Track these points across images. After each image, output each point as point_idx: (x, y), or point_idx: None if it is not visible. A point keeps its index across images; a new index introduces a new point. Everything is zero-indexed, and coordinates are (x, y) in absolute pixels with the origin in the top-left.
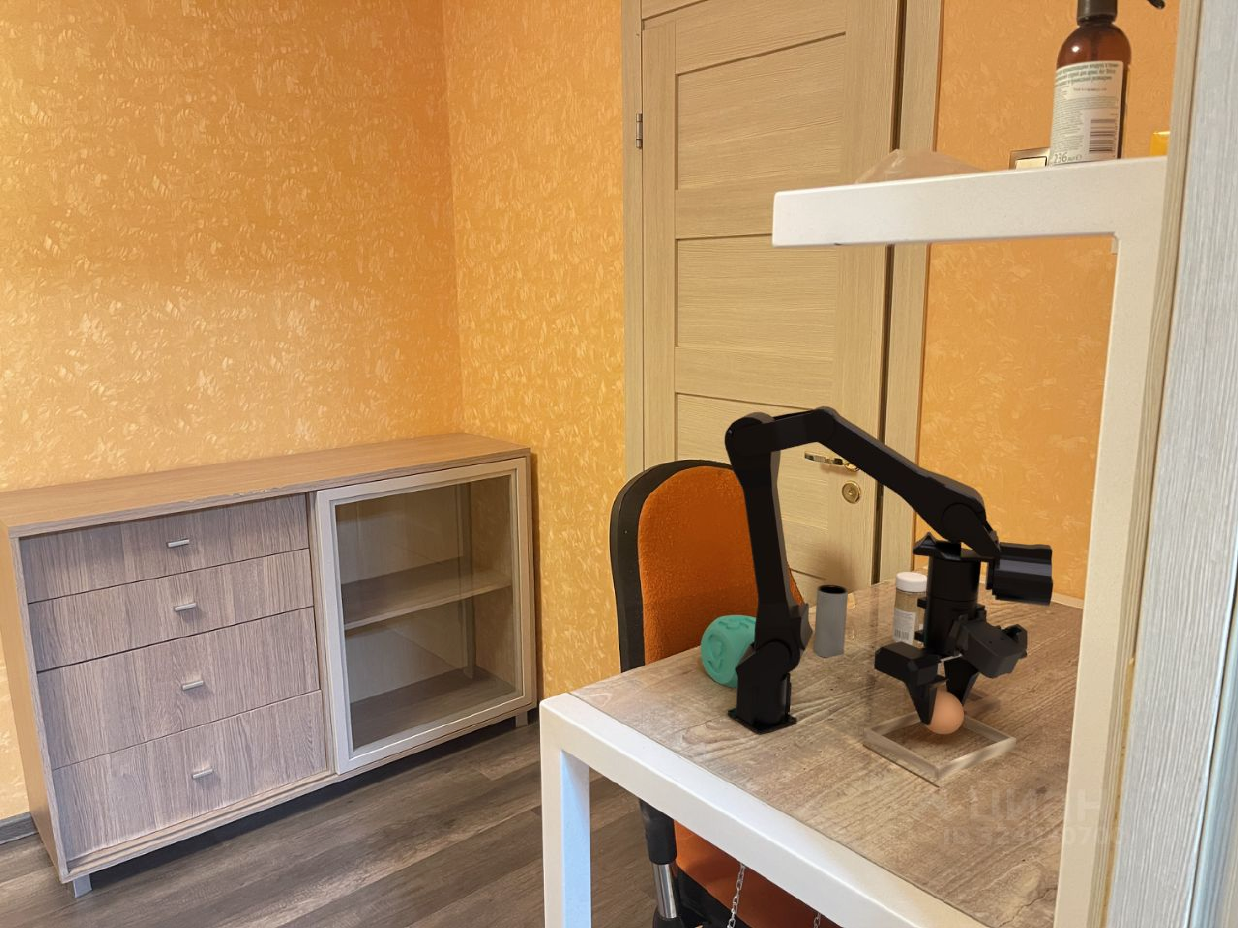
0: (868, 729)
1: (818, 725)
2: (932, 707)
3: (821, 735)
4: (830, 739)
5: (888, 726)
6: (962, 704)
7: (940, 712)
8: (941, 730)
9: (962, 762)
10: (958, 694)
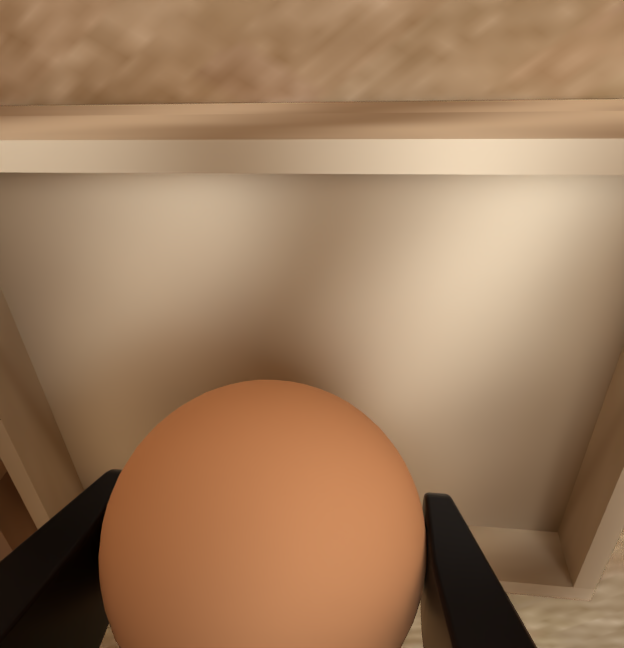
0: (582, 587)
1: (544, 641)
2: (482, 636)
3: (611, 612)
4: (615, 589)
5: None
6: (67, 527)
7: (392, 554)
8: (371, 420)
9: (476, 131)
10: (54, 624)
